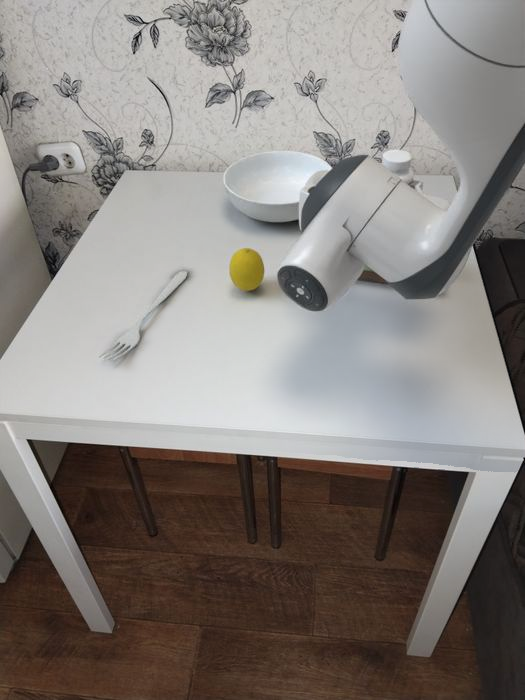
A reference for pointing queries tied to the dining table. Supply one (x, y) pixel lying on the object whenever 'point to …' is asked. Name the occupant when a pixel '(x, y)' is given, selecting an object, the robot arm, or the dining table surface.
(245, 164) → the serving bowl
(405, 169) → the pill bottle
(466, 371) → the dining table surface
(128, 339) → the fork
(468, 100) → the robot arm
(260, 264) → the lemon
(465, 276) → the dining table surface
